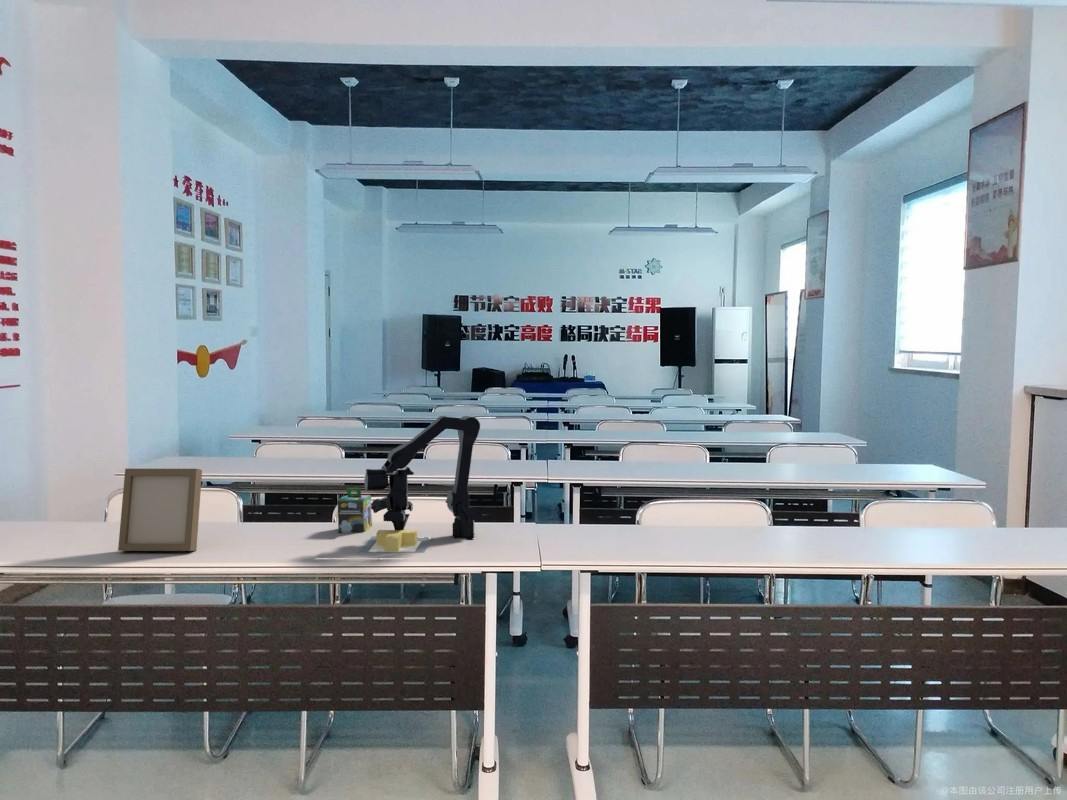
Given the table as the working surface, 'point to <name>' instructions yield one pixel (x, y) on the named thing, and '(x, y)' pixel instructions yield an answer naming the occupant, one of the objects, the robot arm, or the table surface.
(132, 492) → the photo frame
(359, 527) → the chalk box
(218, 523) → the table surface
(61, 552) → the table surface
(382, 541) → the T block
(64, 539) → the table surface
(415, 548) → the mat
